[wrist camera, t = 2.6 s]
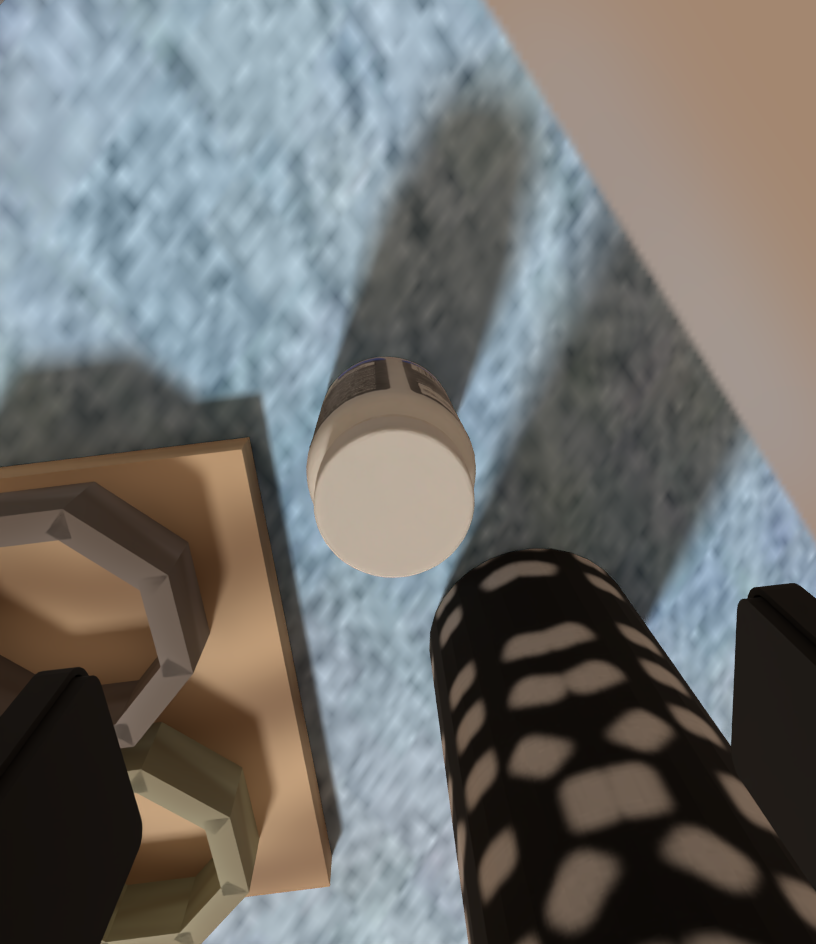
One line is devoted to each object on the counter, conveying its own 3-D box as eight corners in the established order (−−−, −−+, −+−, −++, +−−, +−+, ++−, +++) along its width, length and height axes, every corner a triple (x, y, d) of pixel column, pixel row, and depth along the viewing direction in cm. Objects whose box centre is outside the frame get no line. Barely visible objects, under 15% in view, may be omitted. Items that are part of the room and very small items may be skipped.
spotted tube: (557, 752, 30) (878, 1651, 11) (391, 676, 28) (428, 1581, 9) (672, 604, 28) (1323, 1404, 9) (499, 512, 26) (837, 1254, 7)
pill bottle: (320, 480, 25) (296, 591, 17) (321, 351, 24) (294, 409, 16) (448, 483, 25) (482, 595, 18) (457, 357, 24) (497, 416, 16)
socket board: (-140, 484, 24) (-234, 529, 21) (249, 437, 24) (226, 473, 21) (25, 895, 31) (-24, 986, 27) (332, 856, 31) (325, 942, 27)
